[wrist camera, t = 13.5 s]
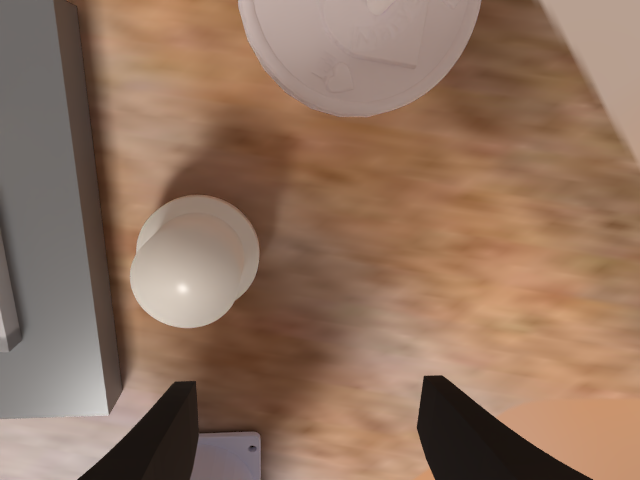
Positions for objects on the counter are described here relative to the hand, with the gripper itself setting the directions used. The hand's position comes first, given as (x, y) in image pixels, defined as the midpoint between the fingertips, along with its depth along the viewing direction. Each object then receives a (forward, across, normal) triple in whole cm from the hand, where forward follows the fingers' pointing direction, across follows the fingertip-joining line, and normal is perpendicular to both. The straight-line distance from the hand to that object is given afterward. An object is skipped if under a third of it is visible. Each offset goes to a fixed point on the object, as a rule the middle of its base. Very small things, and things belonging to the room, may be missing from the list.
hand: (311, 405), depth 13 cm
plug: (+10, +5, -2) cm, 12 cm away
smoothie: (+11, -1, -12) cm, 16 cm away
